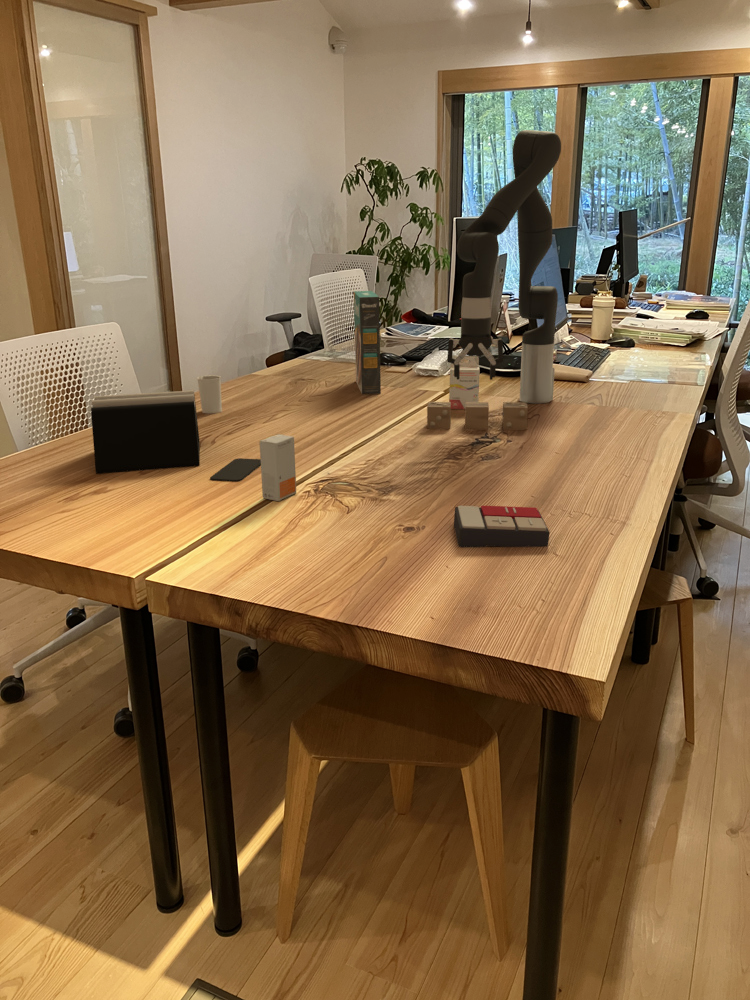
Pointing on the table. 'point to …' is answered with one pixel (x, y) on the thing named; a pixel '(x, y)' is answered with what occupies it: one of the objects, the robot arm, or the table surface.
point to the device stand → (145, 431)
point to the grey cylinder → (210, 393)
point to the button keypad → (500, 527)
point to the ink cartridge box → (464, 383)
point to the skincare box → (278, 467)
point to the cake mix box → (367, 341)
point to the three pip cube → (438, 415)
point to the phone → (237, 470)
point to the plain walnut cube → (476, 415)
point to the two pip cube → (515, 416)
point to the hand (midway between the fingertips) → (474, 379)
